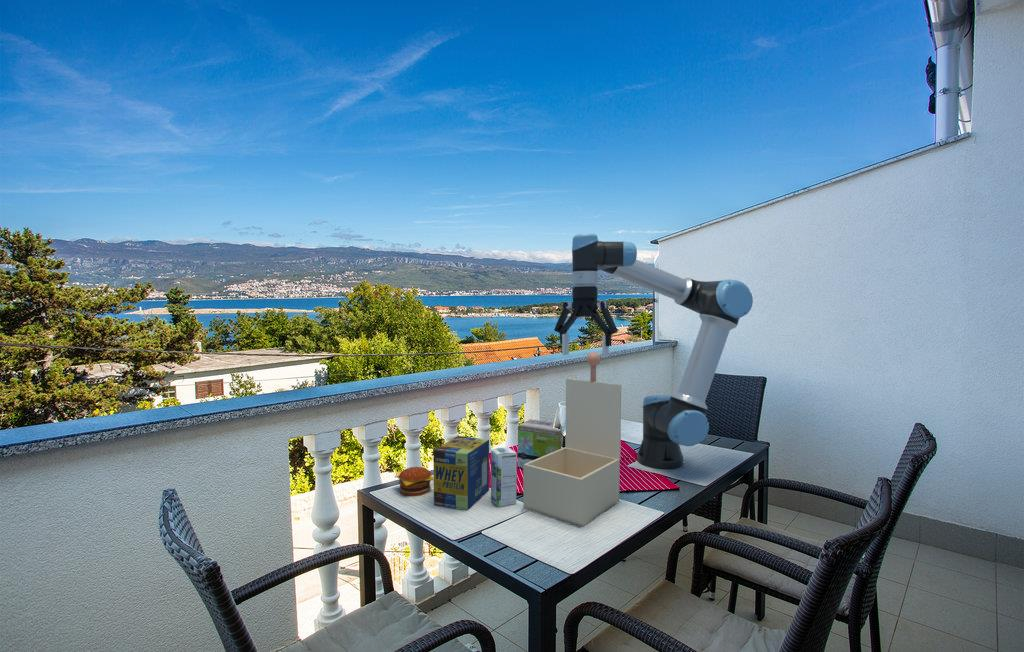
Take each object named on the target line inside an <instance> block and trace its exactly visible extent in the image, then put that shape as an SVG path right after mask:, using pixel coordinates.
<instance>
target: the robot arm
mask: <svg viewBox="0 0 1024 652" xmlns="http://www.w3.org/2000/svg"><path fill="white" fill-rule="evenodd" d="M571 245H572V247H571V257H572V258H571V260H572V264H571V265H572V272H571V273H572V275H571V276H572V277H571V278H572V279H571V280H572V282H571V283H572V285H573V287H572V288H571V289H572V291H571V292H572V302H570V301H564V302H563V303H562V310H561V313H560V315H559V317H558V319H557V322H556V324H555V327H554V329H553V331H554V332H556V333H559V343H560V345H561V348H562V349H561V354H562V355H561V356H566V355H569V354H570V353H569V351H570V348H569V345H570V344H569V343H570V341H569V340H570V339H569V337H570V334H569V333H568V331H569V330H570V328H571V327H572V326H573V324H574V323H575V321H576V320H577V319H578V318H582V317H585V318H592V319H593V321H594V322H595V324H597V326H598V327H599V328H600V330H601V331H602V332H603V335H602V339H601V342H602V346H601V347H602V351H601V352H602V353H601V354H602V356H601V357H602V359H605V358H609V357H610V351H609V350H610V347H611V346H612V335H614V334H617V333H618V332H619V331H618V328H617V326H616V323H615V321H614V320H613V317H612V315H611V312H610V310H609V307H608V302H607V301H601V302H598V286H596V285H598V282H599V281H598V271H602V272H604V273H607V274H609V275H612V276H615V277H618V278H620V279H622V280H625V281H628V282H630V283H633V284H635V285H637V286H639V287H642V288H645V289H648V290H649V291H652V292H654V293H657V294H660V295H662V296H664V297H667V298H669V299H672V300H673V301H674V303H675V304H676V305H679V306H682V307H683V308H687V309H689V310H691V311H693V312H695V313H697V314H699V315H698V317H699V318H700V321H701V324H700V328H699V331H698V333H697V336H696V339H695V342H694V345H693V347H692V350H691V353H690V356H689V359H688V360H687V361H688V362H687V364H686V367H685V370H684V373H683V375H682V379H681V381H680V384H679V387H678V390H677V392H676V393H673V394H671V395H666V394H665V395H657V394H656V395H647V396H645V397H644V398H643V402H642V440H641V443H640V446H639V449H638V452H637V461H638V463H639V464H642V465H644V466H646V467H650V468H655V469H666V470H667V469H677V468H680V467H682V466H683V465H684V456H683V455H684V454H683V452H682V450H681V449H682V448H681V446H683V447H693V446H695V445H698V444H700V443H701V442H703V441H704V439H706V437H707V435H708V433H709V430H710V424H709V421H708V417H706V415H707V412H708V409H709V408H708V406H707V403H706V400H707V397H708V393H709V392H710V389H711V385H712V382H713V379H714V377H715V373H716V371H717V368H718V365H719V362H720V360H721V357H722V353H723V352H724V348H725V346H726V343H727V339H728V337H729V334H730V331H731V330H733V329H735V328H737V326H738V324H739V321H740V318H743V317H744V316H747V315H748V313H750V311H751V310H752V307H753V303H754V301H753V300H754V298H753V294H752V292H751V290H750V288H749V287H748V286H747V285H746V283H744V282H743V281H740V280H738V279H723V280H713V281H711V280H710V281H704V280H701V281H700V280H695V279H692V278H690V277H684V278H682V277H679V276H677V275H675V274H673V273H670V272H668V271H665V270H662V269H660V268H658V267H655V266H653V265H650V264H648V263H645V262H643V261H640V260H638V259H637V255H638V250H637V246H636V244H635V243H634V242H632V241H624V240H623V241H601V240H599V238H598V235H597V234H595V233H579V234H575V235H574V236H573V237H572V244H571ZM571 309H572V310H573V311H572V312H571V314H570V316H569V313H570V311H571ZM597 309H599V310H600V312H601V314H602V316H603V318H604V320H603V318H602V317H601V316H600V314H599V312H598V311H597Z"/></svg>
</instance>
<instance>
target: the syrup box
mask: <svg viewBox="0 0 1024 652" xmlns="http://www.w3.org/2000/svg"><path fill="white" fill-rule="evenodd" d="M490 452H491V453H490V455H491V456H490V501H492V502H493V503H494V505H495V506H497V508H501V507H505V506H510V505H515V504H517V473H518V472H517V471H518V470H517V468H518V452H516V451H515V450H513V449H512V448H510V447H507V446H506V447H496V448H492V449H491V450H490Z"/></svg>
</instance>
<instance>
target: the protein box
mask: <svg viewBox="0 0 1024 652" xmlns="http://www.w3.org/2000/svg"><path fill="white" fill-rule="evenodd" d="M432 451H433V453H432V454H433V456H432V457H433V478H434V480H433V505H434V506H439V507H444V508H445V507H446V508H451V509H457V510H462V511H468V510H470V509H471V508H472V507H473V506H474V505H475V504H476V503H477V502H478V501H479V500H481V499H482V498H483V496H486V494H487V493H488V492H489V491H490V439H487V438H479V437H470V436H463V435H457V436H455V437H453V438H452V439H450V440H447V442H445V443H443V444H441V445H440V446H438V447H436V448H434V449H433V450H432Z"/></svg>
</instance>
